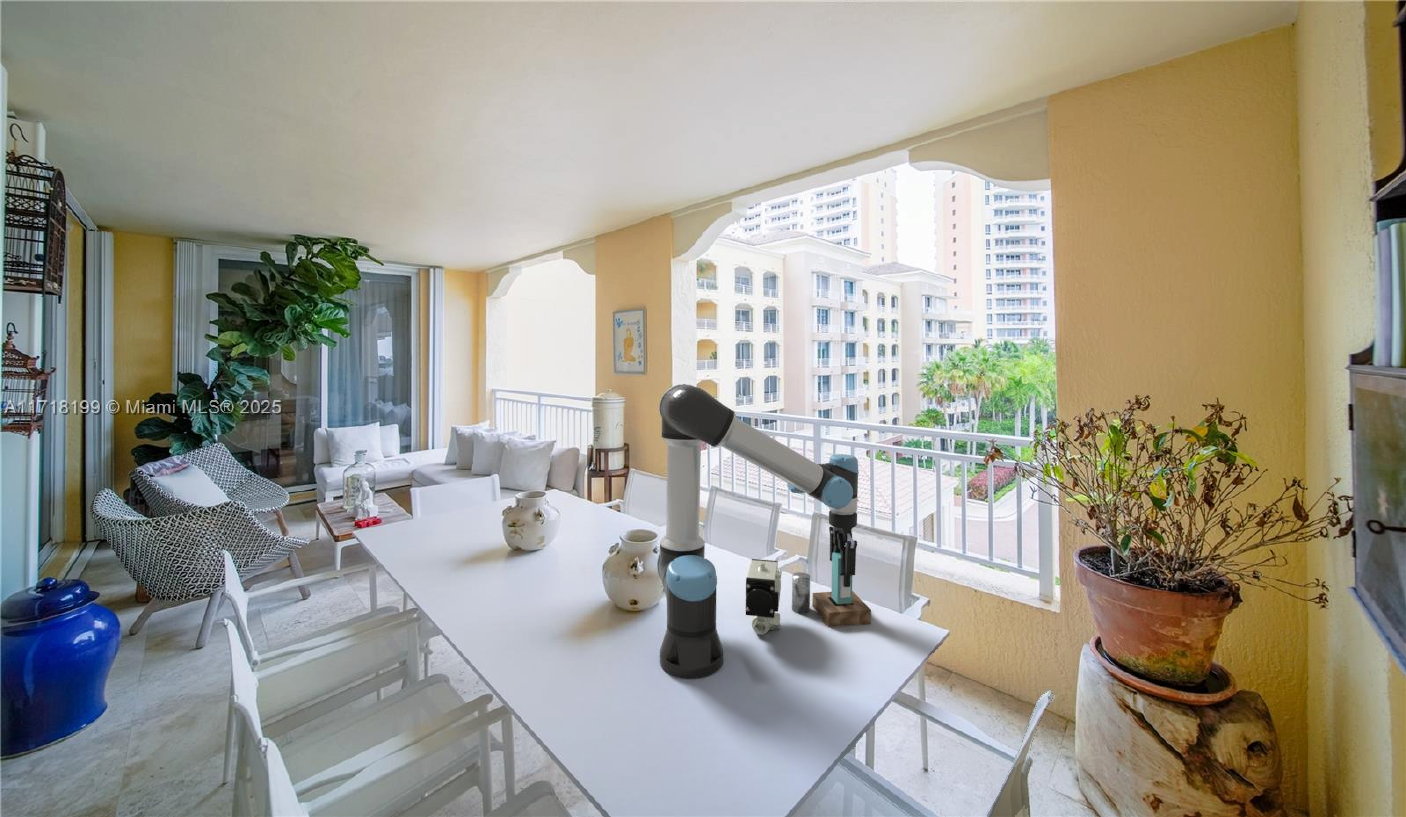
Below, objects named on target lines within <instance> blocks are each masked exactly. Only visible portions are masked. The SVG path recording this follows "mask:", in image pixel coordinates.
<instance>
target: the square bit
mask: <svg viewBox="0 0 1406 817" xmlns="http://www.w3.org/2000/svg"><path fill="white" fill-rule="evenodd" d="M839 573H842V566H841V552H839V553H832V561H831V591H830V592H831V597H832V599H833V600H834V601H835V602H836V603H837V604H846V603H852V591H853V575H851V590H850V597H845V598H841V597H840V574H839Z"/></svg>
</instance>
